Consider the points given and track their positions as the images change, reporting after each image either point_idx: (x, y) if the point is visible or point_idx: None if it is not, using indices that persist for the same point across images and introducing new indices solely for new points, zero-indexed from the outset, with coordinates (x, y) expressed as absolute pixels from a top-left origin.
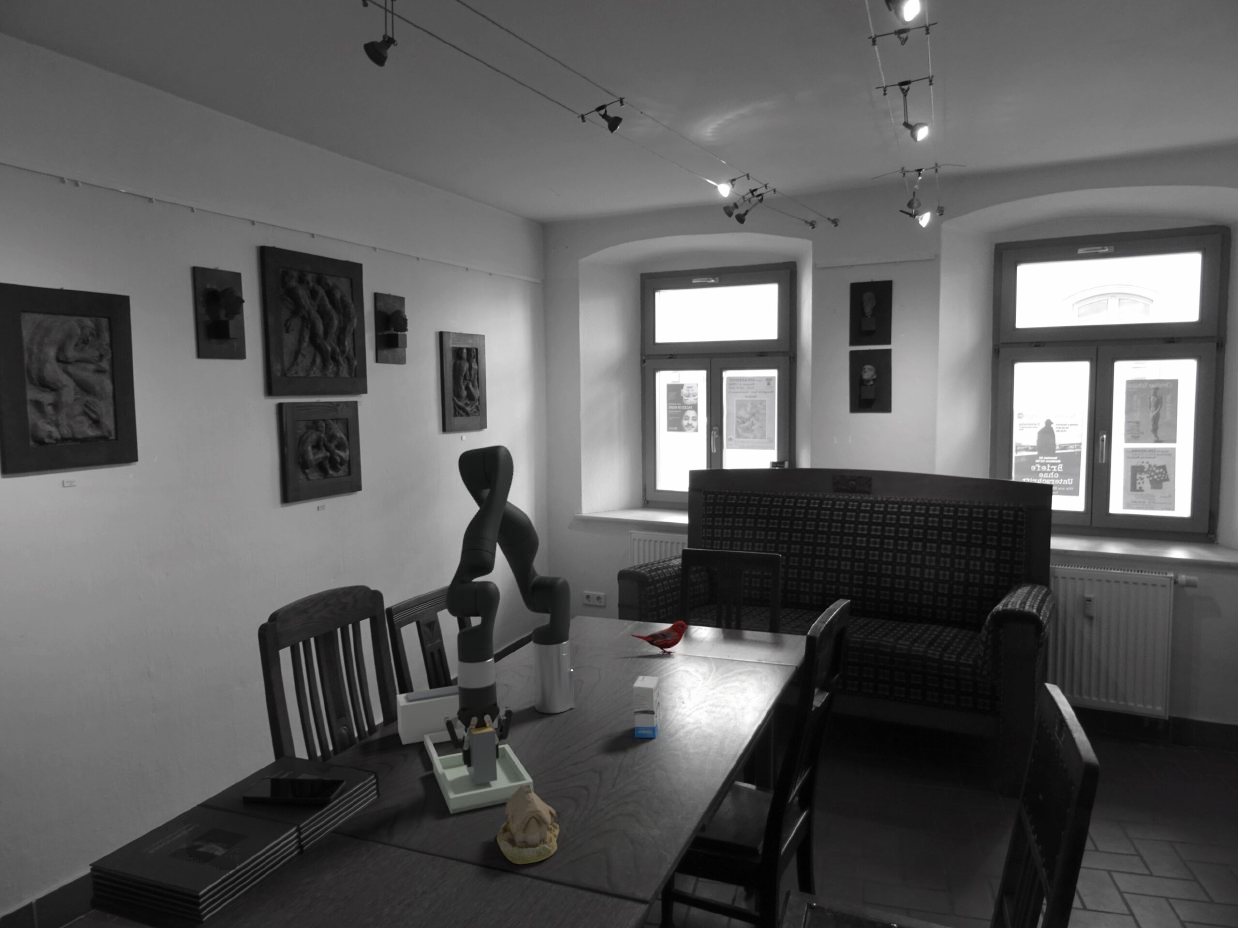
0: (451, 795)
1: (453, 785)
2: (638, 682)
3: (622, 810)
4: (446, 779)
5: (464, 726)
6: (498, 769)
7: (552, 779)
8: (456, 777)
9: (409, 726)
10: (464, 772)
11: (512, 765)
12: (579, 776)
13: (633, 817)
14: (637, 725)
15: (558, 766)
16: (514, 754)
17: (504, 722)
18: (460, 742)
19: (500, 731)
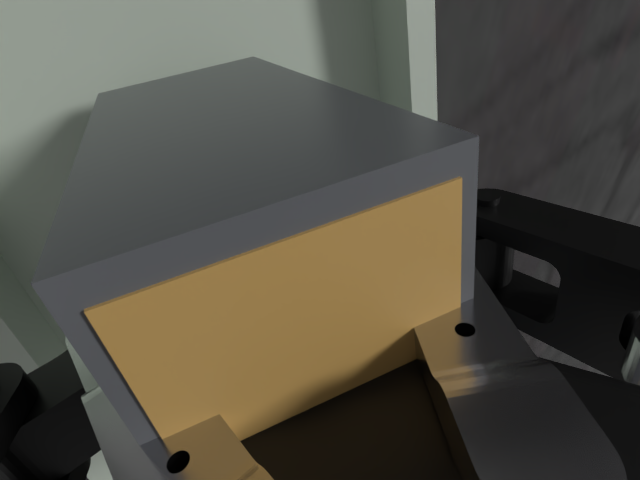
0: (101, 474)
1: (45, 241)
2: None
3: (565, 363)
4: (5, 336)
5: (104, 452)
6: (304, 62)
7: (495, 180)
8: (31, 131)
9: None
10: (75, 54)
11: (387, 77)
12: (573, 169)
13: None
14: None
15: (554, 54)
16: (433, 17)
17: (597, 355)
18: (87, 454)
19: (487, 242)
